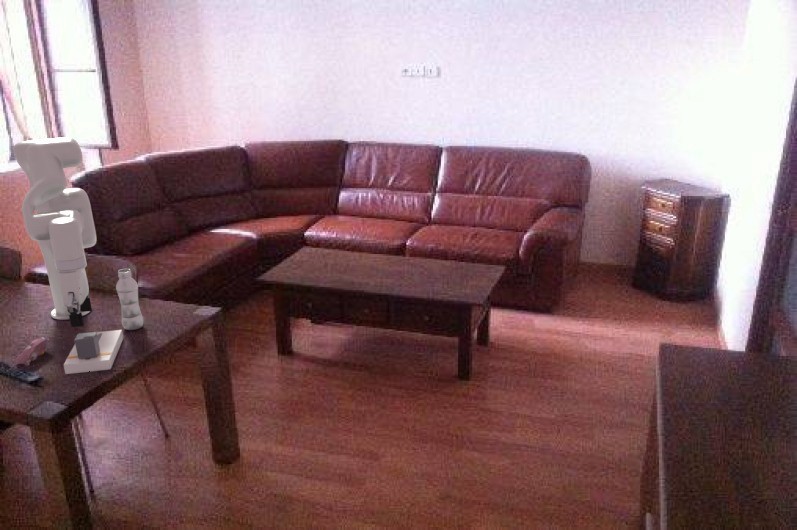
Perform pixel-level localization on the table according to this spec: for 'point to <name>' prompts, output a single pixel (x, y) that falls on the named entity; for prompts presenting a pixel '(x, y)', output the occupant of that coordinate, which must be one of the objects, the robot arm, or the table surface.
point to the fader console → (105, 358)
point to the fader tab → (87, 345)
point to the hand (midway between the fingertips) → (81, 318)
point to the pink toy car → (33, 350)
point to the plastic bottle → (129, 300)
